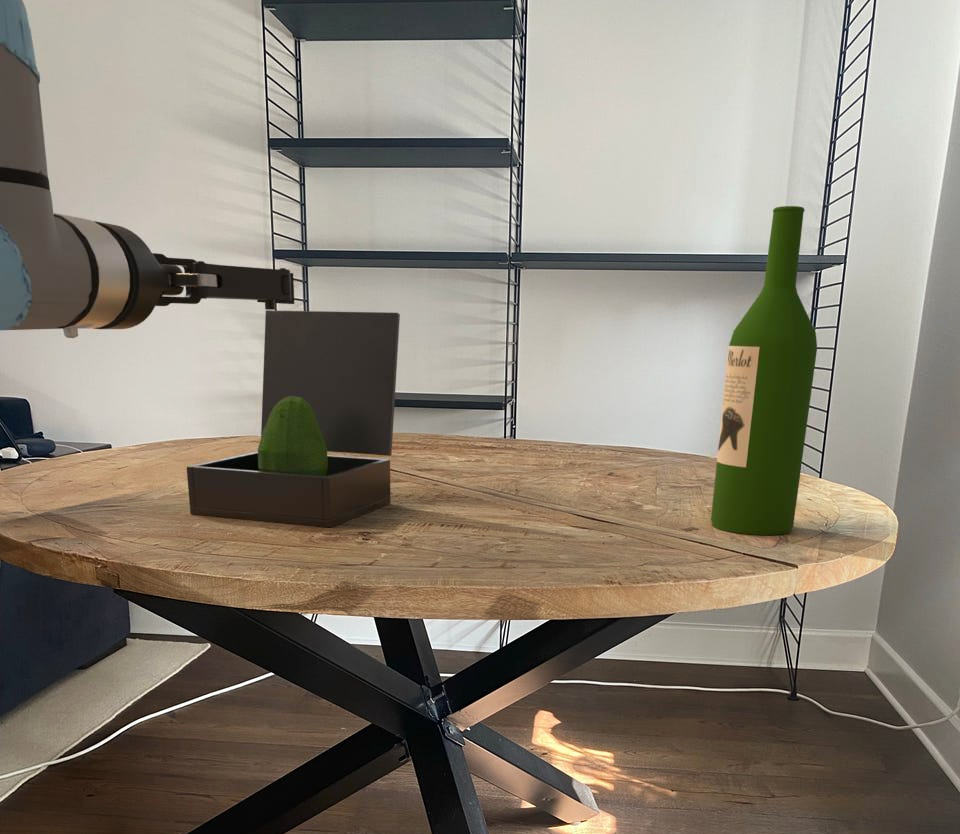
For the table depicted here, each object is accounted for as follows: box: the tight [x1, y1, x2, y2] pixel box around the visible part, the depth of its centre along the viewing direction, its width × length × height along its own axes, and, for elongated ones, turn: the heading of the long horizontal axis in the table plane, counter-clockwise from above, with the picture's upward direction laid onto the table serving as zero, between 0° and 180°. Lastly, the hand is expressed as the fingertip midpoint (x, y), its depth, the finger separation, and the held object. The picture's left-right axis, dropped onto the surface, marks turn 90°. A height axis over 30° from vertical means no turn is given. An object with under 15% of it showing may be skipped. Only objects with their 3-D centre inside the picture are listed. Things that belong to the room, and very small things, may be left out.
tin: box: [186, 451, 392, 529], centre depth 106 cm, size 16×18×5 cm
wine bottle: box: [710, 205, 818, 536], centre depth 97 cm, size 9×9×32 cm
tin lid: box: [260, 310, 401, 457], centre depth 110 cm, size 16×18×1 cm
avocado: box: [257, 396, 328, 477], centre depth 104 cm, size 8×8×12 cm
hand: (223, 287), depth 87 cm, fingers open, 13 cm apart
